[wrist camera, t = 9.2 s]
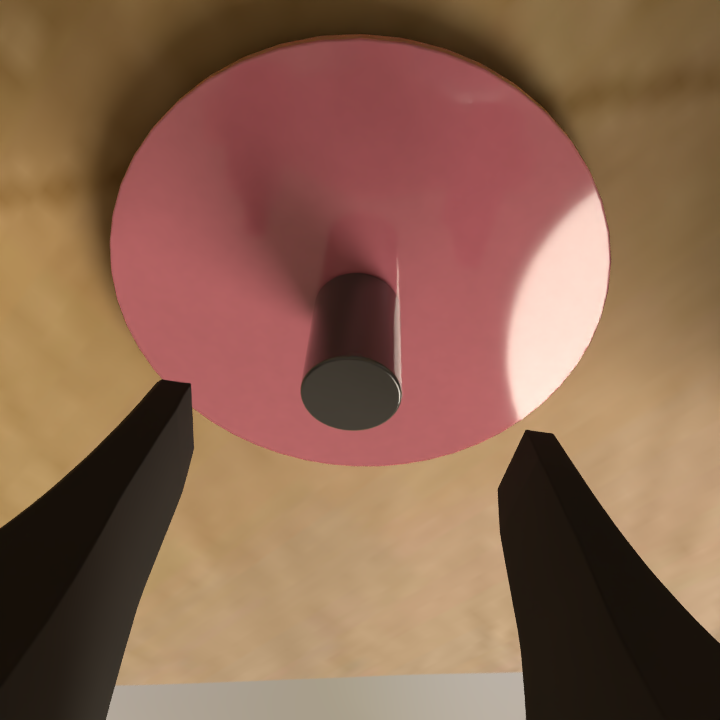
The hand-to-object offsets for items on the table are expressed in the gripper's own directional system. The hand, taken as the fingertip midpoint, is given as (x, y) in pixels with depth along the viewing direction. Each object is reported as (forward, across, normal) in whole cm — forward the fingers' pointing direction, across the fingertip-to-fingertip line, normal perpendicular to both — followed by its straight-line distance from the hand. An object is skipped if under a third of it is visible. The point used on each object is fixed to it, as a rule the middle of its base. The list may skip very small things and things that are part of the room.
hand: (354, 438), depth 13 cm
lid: (+5, 0, 0) cm, 5 cm away
